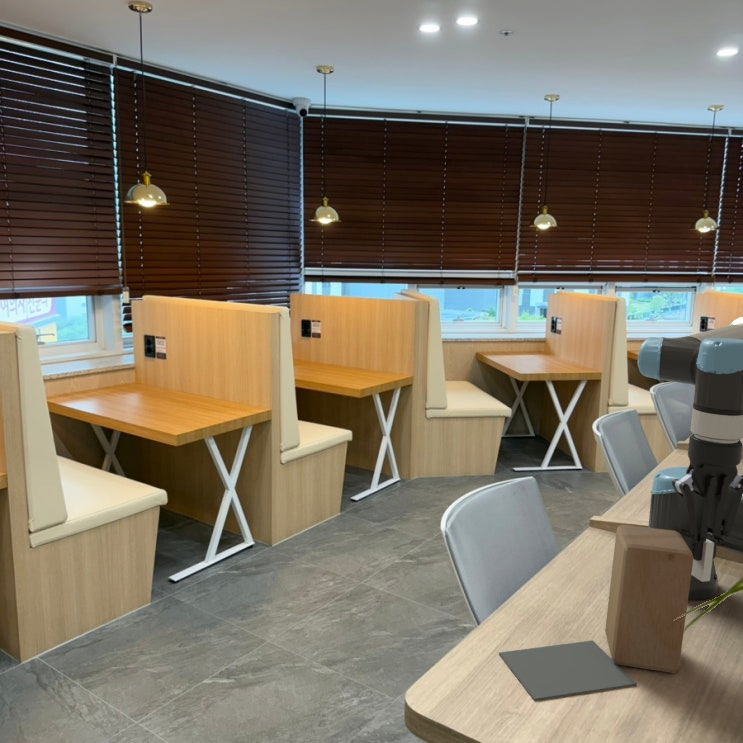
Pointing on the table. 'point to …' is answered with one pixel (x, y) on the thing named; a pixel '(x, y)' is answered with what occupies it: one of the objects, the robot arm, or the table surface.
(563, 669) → the mat
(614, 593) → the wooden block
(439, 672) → the table surface
